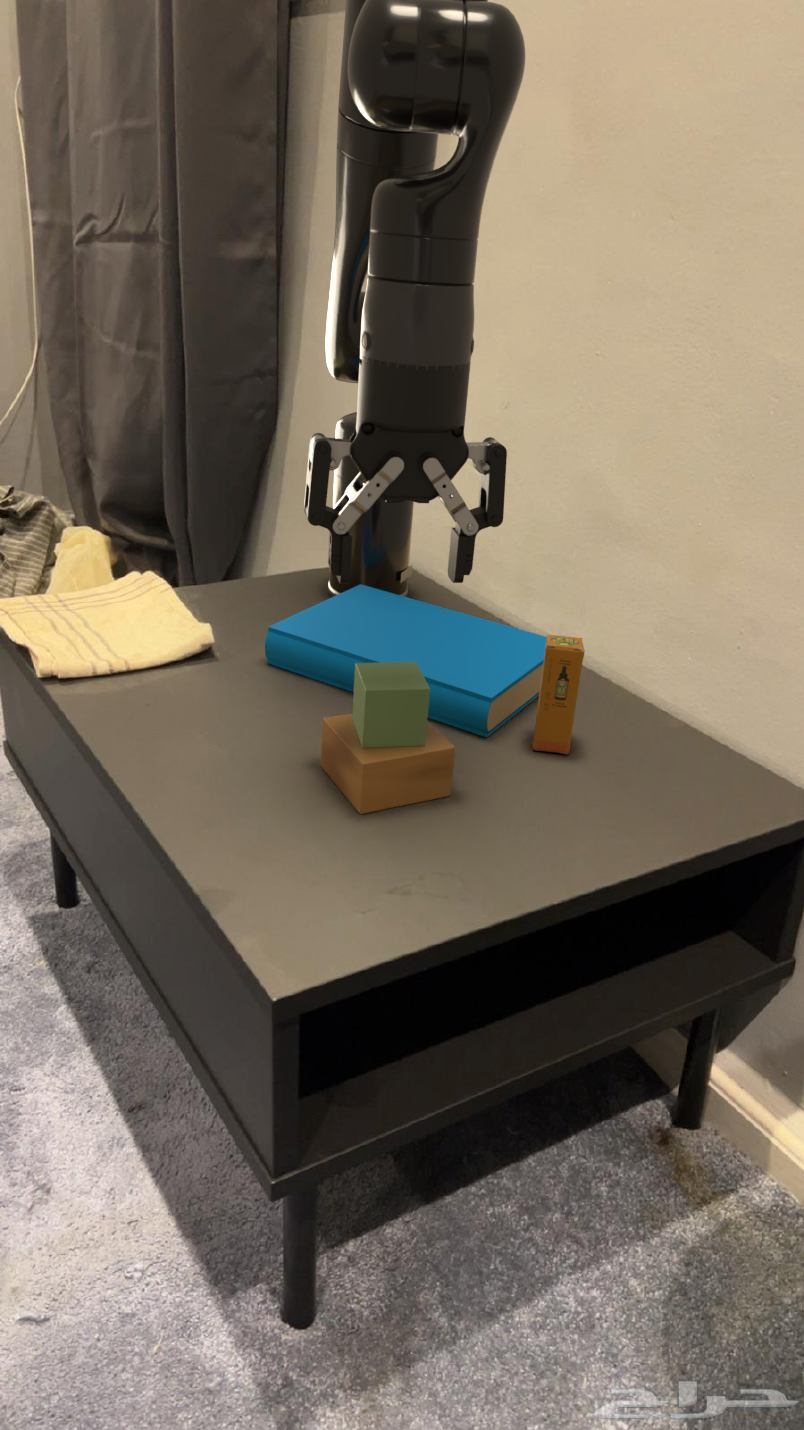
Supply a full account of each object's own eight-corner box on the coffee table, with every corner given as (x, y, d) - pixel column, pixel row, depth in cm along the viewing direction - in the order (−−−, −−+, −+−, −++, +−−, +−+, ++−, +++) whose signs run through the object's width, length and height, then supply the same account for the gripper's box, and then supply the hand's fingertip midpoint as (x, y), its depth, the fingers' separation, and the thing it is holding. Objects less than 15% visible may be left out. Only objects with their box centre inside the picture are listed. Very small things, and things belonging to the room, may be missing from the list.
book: (358, 583, 116) (568, 638, 105) (357, 620, 118) (563, 677, 107) (262, 628, 103) (491, 696, 92) (262, 668, 104) (486, 740, 93)
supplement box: (569, 738, 95) (586, 636, 90) (568, 756, 92) (585, 651, 87) (532, 733, 95) (547, 631, 91) (530, 751, 92) (545, 646, 88)
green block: (352, 718, 86) (355, 662, 83) (411, 717, 87) (416, 661, 84) (362, 748, 81) (365, 690, 79) (425, 746, 82) (430, 688, 80)
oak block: (320, 765, 87) (322, 717, 85) (406, 750, 91) (409, 703, 89) (360, 814, 81) (363, 763, 79) (450, 796, 84) (455, 747, 82)
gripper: (501, 348, 76) (478, 564, 83) (303, 339, 73) (297, 563, 80) (533, 365, 69) (505, 597, 76) (317, 355, 66) (309, 598, 73)
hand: (399, 580), depth 78 cm, fingers open, 8 cm apart
